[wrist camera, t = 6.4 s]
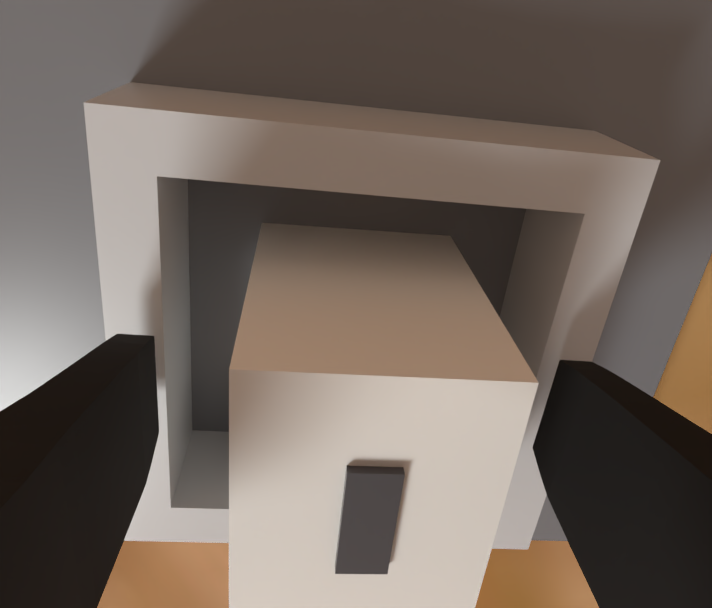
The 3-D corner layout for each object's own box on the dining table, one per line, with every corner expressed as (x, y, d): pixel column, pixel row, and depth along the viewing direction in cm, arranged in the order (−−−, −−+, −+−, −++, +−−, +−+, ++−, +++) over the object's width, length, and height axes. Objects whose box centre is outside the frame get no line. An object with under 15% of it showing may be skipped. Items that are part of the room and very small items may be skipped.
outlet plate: (772, 12, 12) (933, 16, 9) (580, 515, 18) (636, 620, 15) (-72, -99, 10) (-241, -145, 7) (35, 499, 16) (-29, 615, 13)
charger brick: (450, 235, 13) (543, 389, 8) (417, 422, 15) (471, 636, 10) (261, 222, 12) (227, 376, 7) (256, 416, 14) (227, 638, 9)
